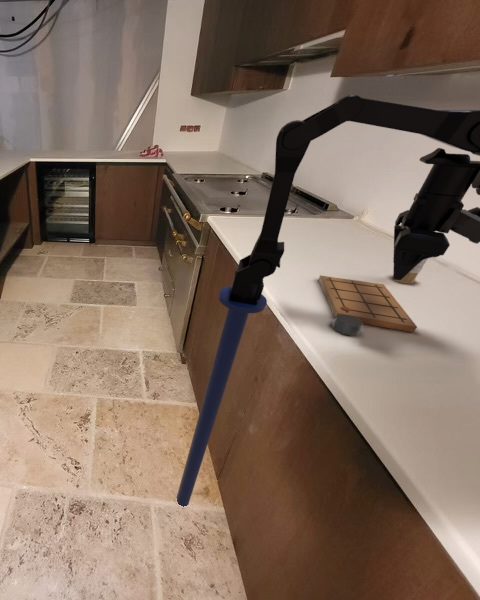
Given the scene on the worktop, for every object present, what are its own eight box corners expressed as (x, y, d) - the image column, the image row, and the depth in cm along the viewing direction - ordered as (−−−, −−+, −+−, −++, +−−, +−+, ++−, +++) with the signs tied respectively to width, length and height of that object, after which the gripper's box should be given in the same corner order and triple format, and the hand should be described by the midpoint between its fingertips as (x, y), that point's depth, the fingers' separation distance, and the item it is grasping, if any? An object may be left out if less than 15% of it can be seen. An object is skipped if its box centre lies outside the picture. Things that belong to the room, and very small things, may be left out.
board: (335, 318, 72) (338, 312, 72) (317, 280, 88) (320, 274, 87) (413, 332, 68) (418, 326, 67) (380, 289, 83) (384, 283, 83)
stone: (334, 332, 68) (339, 323, 67) (329, 321, 72) (334, 312, 70) (361, 338, 66) (366, 328, 65) (354, 325, 70) (359, 316, 69)
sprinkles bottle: (395, 275, 90) (421, 228, 83) (416, 281, 87) (445, 234, 80) (388, 279, 88) (414, 232, 81) (409, 286, 85) (438, 237, 78)
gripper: (525, 212, 46) (458, 303, 54) (498, 189, 58) (447, 266, 67) (420, 200, 52) (375, 283, 60) (415, 181, 64) (378, 253, 73)
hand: (396, 271), depth 65 cm, fingers open, 9 cm apart
